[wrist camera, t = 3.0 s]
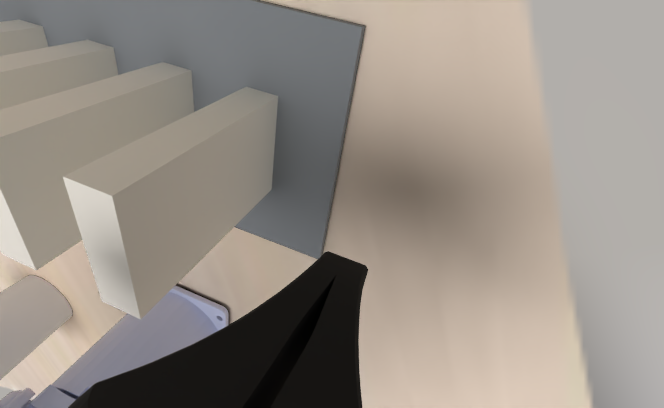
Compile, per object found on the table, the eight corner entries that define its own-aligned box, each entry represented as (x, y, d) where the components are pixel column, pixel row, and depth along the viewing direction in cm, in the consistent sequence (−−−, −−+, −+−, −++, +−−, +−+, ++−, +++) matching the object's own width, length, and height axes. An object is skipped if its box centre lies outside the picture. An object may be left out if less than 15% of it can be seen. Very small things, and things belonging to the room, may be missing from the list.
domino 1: (113, 47, 18) (-130, 100, 11) (129, 139, 21) (-55, 227, 14) (87, 39, 19) (-165, 86, 12) (107, 131, 22) (-85, 213, 14)
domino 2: (191, 70, 17) (-20, 144, 10) (197, 163, 20) (36, 270, 13) (162, 61, 18) (-61, 128, 11) (172, 154, 21) (2, 254, 14)
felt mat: (322, 255, 21) (319, 259, 21) (-68, 106, 27) (-75, 108, 27) (365, 26, 14) (362, 27, 14) (-171, -103, 20) (-181, -104, 20)
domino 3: (278, 96, 17) (111, 196, 9) (271, 189, 19) (140, 319, 12) (246, 86, 17) (62, 176, 10) (244, 179, 20) (101, 301, 13)
